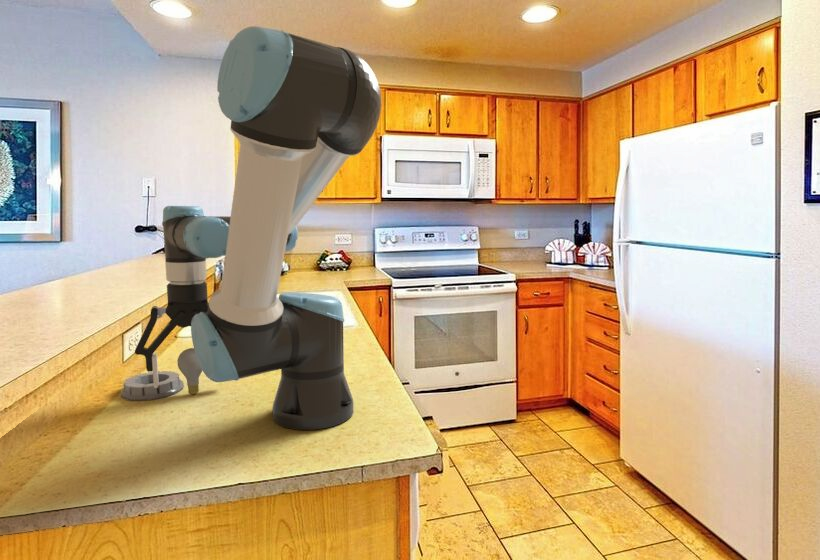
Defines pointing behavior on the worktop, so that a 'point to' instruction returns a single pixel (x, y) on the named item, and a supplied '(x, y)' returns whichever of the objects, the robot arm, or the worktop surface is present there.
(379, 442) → the worktop surface
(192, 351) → the light bulb
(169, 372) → the socket
